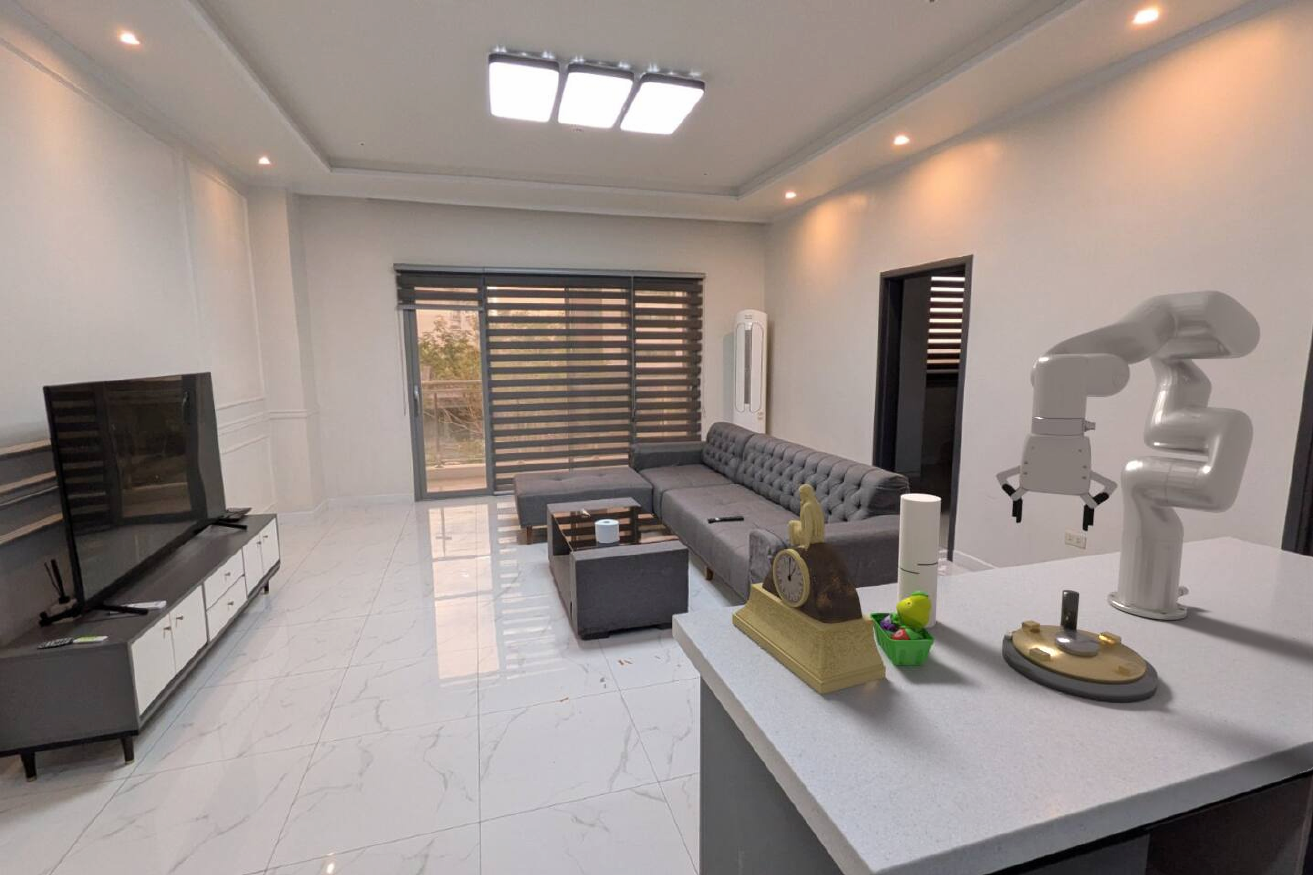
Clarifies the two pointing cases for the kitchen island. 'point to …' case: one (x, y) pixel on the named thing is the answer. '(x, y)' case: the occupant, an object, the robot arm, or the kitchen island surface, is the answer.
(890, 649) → the fruit basket
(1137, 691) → the cap plate
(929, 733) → the kitchen island surface
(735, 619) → the decorative clock
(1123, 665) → the gold dial with handle
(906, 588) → the cylindrical container
